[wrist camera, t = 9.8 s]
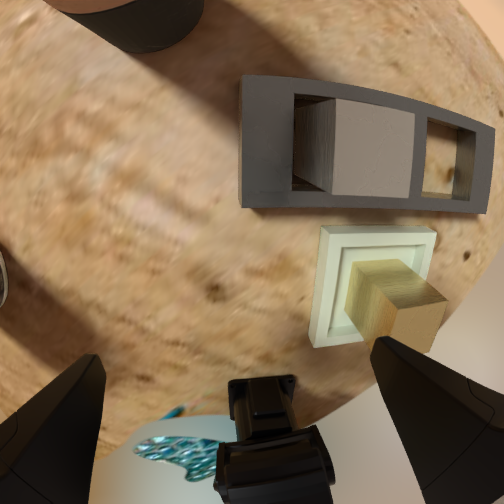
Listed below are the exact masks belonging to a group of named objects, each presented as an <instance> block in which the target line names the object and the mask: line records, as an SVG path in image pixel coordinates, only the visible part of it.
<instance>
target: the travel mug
mask: <svg viewBox="0 0 504 504" xmlns="http://www.w3.org/2000/svg"><path fill="white" fill-rule="evenodd" d="M43 1H45V2H46V3H48V4H49V5H51V6H52V7H54V8H55V9H57V10H58V11H60V12H62V13H63V14H65V15H67V16H68V17H70V18H72V19H73V20H75V21H77V22H78V23H80V24H81V25H83V26H85V27H86V28H88V29H89V30H91V31H92V32H94V33H95V34H97V35H98V36H100V37H102V38H103V39H105V40H106V41H108V42H109V43H111V44H112V45H114V46H116V47H118V48H119V49H121V50H124V51H128V52H132V53H148V52H154V51H158V50H161V49H164V48H167V47H169V46H171V45H173V44H175V43H177V42H178V41H180V40H181V39H183V38H184V37H185V36H186V35H187V34H188V33H189V32H190V31H191V30H192V29H193V28H194V27H195V25H196V24H197V23H198V21H199V19H200V17H201V14H202V11H203V6H204V0H43Z"/></svg>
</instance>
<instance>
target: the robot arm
mask: <svg viewBox="0 0 504 504" xmlns="http://www.w3.org/2000/svg"><path fill="white" fill-rule="evenodd" d="M370 361H371V364H372V367H373V370H374V373H375V376H376V379H377V383H378V386H379V388H380V392H381V395H382V397H383V400H384V402H385V404H386V407H387V409H388V411H389V413H390V415H391V418H392V420H393V422H394V425H395V427H396V429H397V432H398V434H399V437H400V439H401V441H402V444H403V446H404V448H405V451H406V453H407V456H408V458H409V461H410V463H411V465H412V468H413V471H414V473H415V476H416V478H417V481H418V483H419V486H420V489H421V491H422V495H423V497H424V500H425V503H426V504H504V395H503V394H501V393H498V392H496V391H494V390H491V389H489V388H487V387H485V386H483V385H481V384H479V383H477V382H475V381H473V380H471V379H469V378H466V377H465V376H463V375H461V374H459V373H458V372H456V371H454V370H452V369H450V368H448V367H446V366H444V365H442V364H441V363H439V362H437V361H435V360H433V359H431V358H429V357H427V356H425V355H423V354H422V353H420V352H418V351H416V350H414V349H412V348H410V347H409V346H407V345H405V344H403V343H401V342H399V341H397V340H395V339H394V338H392V337H390V336H387V335H385V336H380V337H377V338H376V339H375V342H374V345H373V348H372V351H371V355H370ZM105 384H106V372H105V369H104V367H103V365H102V362H101V359H100V357H99V355H98V354H94V353H86V354H84V355H83V356H82V357H81V358H79V359H78V360H77V361H76V362H74V363H73V364H72V365H71V366H70V367H68V368H67V369H66V370H65V371H63V372H62V373H61V374H60V375H59V376H57V377H56V378H55V379H54V380H53V381H51V382H50V383H49V384H48V385H46V386H45V387H44V388H43V389H42V390H41V391H39V392H38V393H37V394H36V395H35V396H33V397H32V398H31V399H30V400H29V401H27V402H26V403H25V404H24V405H23V406H22V407H20V408H19V409H18V410H17V412H14V413H13V414H12V415H11V416H10V417H9V418H7V419H6V420H5V421H4V422H2V423H1V424H0V504H88V500H89V492H90V483H91V476H92V469H93V463H94V457H95V451H96V446H97V440H98V435H99V430H100V425H101V419H102V412H103V402H104V392H105ZM294 387H295V377H294V376H293V375H287V376H278V377H268V378H256V379H243V380H231V381H229V382H228V395H229V408H230V419H231V420H233V421H235V425H236V434H237V442H229V443H225V442H222V443H219V450H217V462H216V475H215V479H214V483H213V487H214V490H216V491H217V492H218V493H219V494H220V496H221V498H222V500H223V502H224V504H333V499H332V495H331V490H330V486H331V485H334V484H335V473H334V468H333V464H332V461H331V458H330V455H329V452H328V450H327V448H326V446H325V444H324V441H323V439H322V437H321V435H320V433H319V430H318V428H317V426H316V425H312V426H310V427H308V428H304V429H298V425H297V422H296V418H295V415H294V411H293V408H292V399H293V393H294Z"/></svg>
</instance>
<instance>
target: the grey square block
mask: <svg viewBox="0 0 504 504" xmlns="http://www.w3.org/2000/svg"><path fill="white" fill-rule="evenodd" d="M414 124H415V114H413V113H409V112H405V111H401V110H397V109H392V108H388V107H383V106H378V105H373V104H367V103H362V102H356V101H350V100H343V99H332V100H328V101H324V102H320V103H316V104H312V105H309V106H305V107H301V108H298V109H295V149H294V174H295V175H297V176H299V177H301V178H302V179H304V180H306V181H308V182H310V183H312V184H314V185H315V186H317V187H319V188H321V189H323V190H324V191H326V192H328V193H330V194H332V195H356V196H378V197H396V198H408V197H409V189H410V180H411V170H412V159H413V145H414Z"/></svg>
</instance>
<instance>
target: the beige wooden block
mask: <svg viewBox="0 0 504 504" xmlns="http://www.w3.org/2000/svg"><path fill="white" fill-rule="evenodd" d="M448 301H449V300H447V299H446V298H445V297H444V296H443V295H442V294H440V293H439V292H438V291H437V290H436V289H435V288H433V287H432V286H431V285H430V284H429V283H428V282H426V281H425V280H424V279H423V278H422V277H420V276H419V275H418V274H417V273H415V272H414V271H413V270H412V269H411V268H409V267H408V266H407V265H406V264H404V263H403V262H402V261H401V260H399V259H385V260H370V261H354V262H352V267H351V273H350V279H349V285H348V291H347V297H346V302H345V307H344V311H345V312H346V314H347V315H348V317H349V318H350V320H351V321H352V323H353V324H354V326H355V327H356V329H357V330H358V332H359V333H360V335H361V336H362V338H363V339H364V341H365V342H366V344H367V345H368V347H369V348H370V350H371V351H372V348H373V345H374V342H375V339H376V338H377V337H380V336H385V335H387V336H390V337H392V338H394V339H395V340H397V341H399V342H401V343H403V344H405V345H407V346H409V347H410V348H412V349H414V350H416V351H418V352H420V353H422V354H423V353H427V352H429V351H430V348H431V346H432V343H433V341H434V339H435V336H436V334H437V331H438V329H439V326H440V323H441V321H442V318H443V315H444V312H445V309H446V307H447V304H448Z"/></svg>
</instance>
